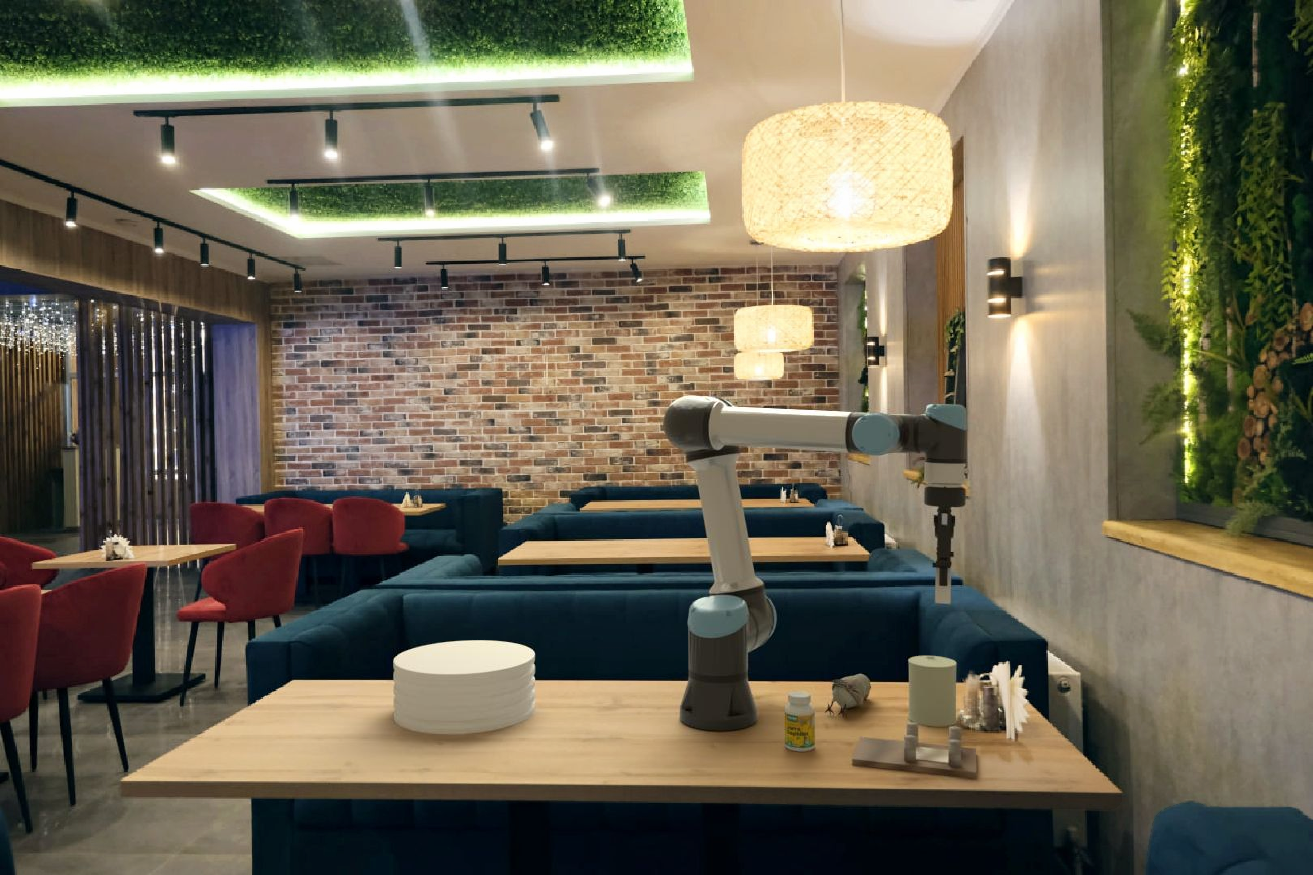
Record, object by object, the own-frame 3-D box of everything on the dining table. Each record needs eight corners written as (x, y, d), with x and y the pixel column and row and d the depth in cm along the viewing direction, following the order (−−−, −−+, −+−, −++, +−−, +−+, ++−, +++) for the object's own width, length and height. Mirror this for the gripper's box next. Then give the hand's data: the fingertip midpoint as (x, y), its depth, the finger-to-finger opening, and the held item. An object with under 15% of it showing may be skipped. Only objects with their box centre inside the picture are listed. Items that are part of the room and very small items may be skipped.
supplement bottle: (816, 744, 170) (816, 691, 170) (812, 753, 165) (812, 699, 165) (787, 741, 172) (787, 688, 172) (782, 750, 167) (782, 696, 167)
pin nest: (852, 764, 160) (852, 735, 159) (859, 742, 171) (859, 714, 171) (976, 778, 153) (976, 748, 153) (975, 754, 165) (975, 725, 164)
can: (951, 713, 188) (951, 653, 188) (961, 727, 179) (961, 665, 179) (904, 711, 189) (904, 652, 189) (912, 726, 180) (912, 664, 180)
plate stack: (472, 744, 171) (472, 681, 171) (363, 720, 185) (362, 662, 185) (562, 704, 195) (562, 649, 195) (459, 686, 209) (459, 635, 209)
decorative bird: (878, 701, 197) (878, 665, 197) (846, 721, 184) (846, 683, 184) (854, 697, 200) (854, 662, 200) (821, 716, 187) (821, 678, 187)
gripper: (967, 490, 165) (964, 610, 166) (964, 482, 189) (962, 586, 190) (923, 489, 167) (920, 607, 168) (925, 480, 191) (923, 584, 192)
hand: (942, 596), depth 179 cm, fingers open, 13 cm apart
